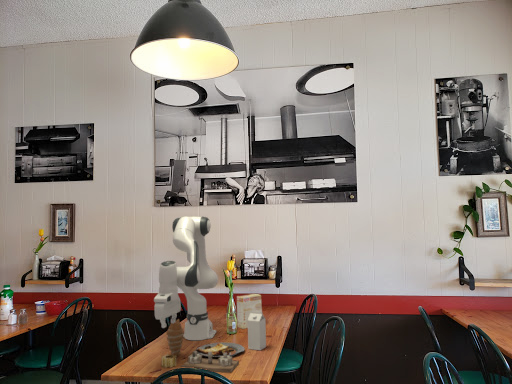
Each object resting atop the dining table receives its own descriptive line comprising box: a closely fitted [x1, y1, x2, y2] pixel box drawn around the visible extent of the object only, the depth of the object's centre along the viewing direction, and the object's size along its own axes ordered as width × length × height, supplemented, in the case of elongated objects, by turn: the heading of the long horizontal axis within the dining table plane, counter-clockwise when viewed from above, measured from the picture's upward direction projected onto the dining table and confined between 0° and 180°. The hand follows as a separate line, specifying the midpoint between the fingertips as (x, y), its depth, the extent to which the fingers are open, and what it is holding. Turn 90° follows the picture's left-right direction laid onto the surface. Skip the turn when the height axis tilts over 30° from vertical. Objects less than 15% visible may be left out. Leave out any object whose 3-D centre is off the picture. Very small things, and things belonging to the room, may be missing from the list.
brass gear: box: [161, 354, 177, 369], centre depth 200 cm, size 7×7×4 cm
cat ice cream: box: [166, 318, 184, 357], centre depth 214 cm, size 9×8×18 cm
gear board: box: [180, 350, 240, 374], centre depth 197 cm, size 12×24×6 cm, turn 75°
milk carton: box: [247, 311, 267, 351], centre depth 225 cm, size 7×7×19 cm
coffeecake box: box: [236, 293, 263, 330], centre depth 273 cm, size 15×7×20 cm, turn 122°
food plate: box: [195, 341, 246, 358], centre depth 218 cm, size 25×23×4 cm
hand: (168, 325), depth 202 cm, fingers open, 8 cm apart
